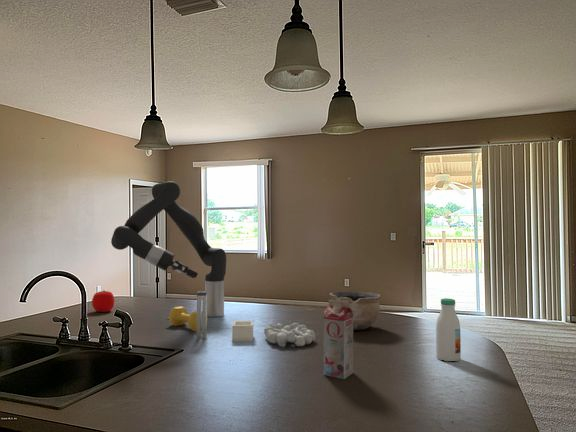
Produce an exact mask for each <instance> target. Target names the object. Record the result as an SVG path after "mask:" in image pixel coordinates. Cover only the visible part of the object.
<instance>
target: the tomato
mask: <svg viewBox="0 0 576 432" xmlns="http://www.w3.org/2000/svg"><path fill="white" fill-rule="evenodd" d="M91 304H92V307H93V309H94V311H96V312H98V313H99V312H100V313H101V312H102V313H104V312H105V313H107V312H110V311H111V310H112V309H114V306H115V296H114V294H113V293H112V292H111V291H109V290H108V291H107V290H101V291H98V292H95V293H94V294H93V297H92V300H91Z"/></svg>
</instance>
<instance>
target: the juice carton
mask: <svg viewBox="0 0 576 432" xmlns="http://www.w3.org/2000/svg"><path fill="white" fill-rule="evenodd" d="M352 374H354V330H353V311H352V310H351V309H350V308H349V302H344V301H335V300H331V299H328V306H327V307H326V309H324V311H323V376H327V377H332V378H336V379H342V380H345V379H347V378H348V377H349V376H351V375H352Z"/></svg>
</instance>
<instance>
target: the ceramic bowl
mask: <svg viewBox="0 0 576 432" xmlns="http://www.w3.org/2000/svg"><path fill="white" fill-rule="evenodd" d="M329 297H330V298H331V299H330V300H335V301H344V302H349V308H350V309H351V310H352V311H353V331H361V330H365V329H366V330H367V329H368V328H370V327H371V326H373V324H374V323H375V322H376V320H377V319H378V317H379V315H380V312H381V307H380V299H381V295H380V294H378V293H375V292H366V291H356V290H355V291H354V290H351V291H344V290H343V291H334V292H330V293H329Z"/></svg>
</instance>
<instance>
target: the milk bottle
mask: <svg viewBox="0 0 576 432" xmlns="http://www.w3.org/2000/svg"><path fill="white" fill-rule="evenodd" d="M440 306H441V309H440V312H439V315H438V316H437V319H436V325H435V326H436V327H435V328H436V329H435V357H436V358H437V359H438V360H440V361H442V360H444V361H443V362H448V361H457V362H459V361H461V357H462V356H461V355H462V354H461V353H462V351H461V349H462V348H461V347H462V346H461V343H462V342H461V339H462V338H461V323H460V319H459V317H458V315H457V313H456V309H455V307H456V300H455V299H453V298H448V297H447V298H444V297H443V298H441V299H440ZM458 360H459V361H458Z"/></svg>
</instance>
